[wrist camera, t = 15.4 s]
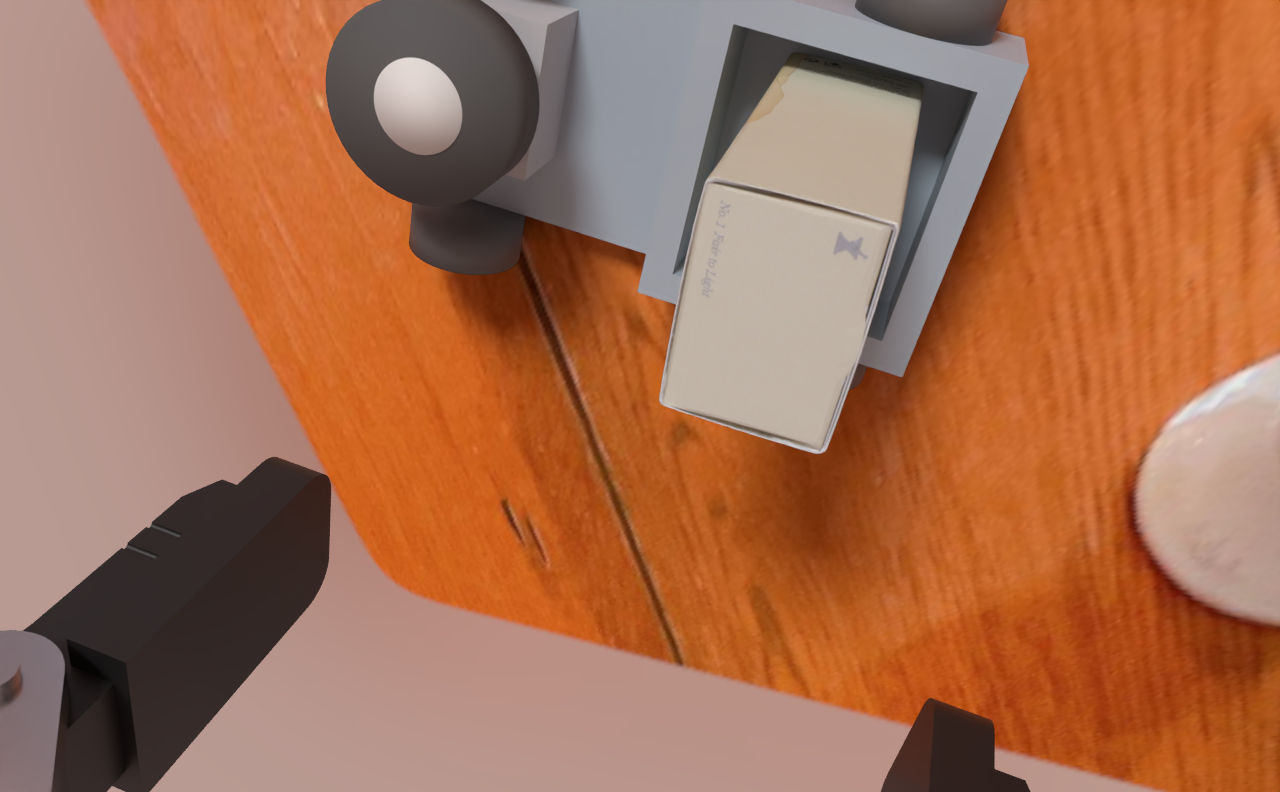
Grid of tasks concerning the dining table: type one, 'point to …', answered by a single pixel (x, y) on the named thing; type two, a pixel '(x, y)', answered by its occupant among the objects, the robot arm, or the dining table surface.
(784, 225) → the skincare box
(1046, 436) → the dining table surface
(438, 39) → the wheel
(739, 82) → the chassis
